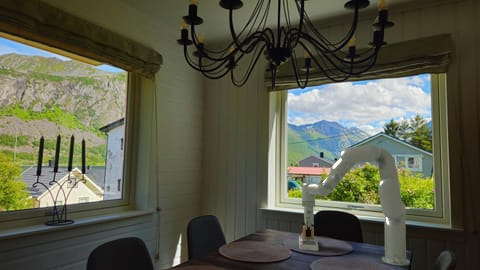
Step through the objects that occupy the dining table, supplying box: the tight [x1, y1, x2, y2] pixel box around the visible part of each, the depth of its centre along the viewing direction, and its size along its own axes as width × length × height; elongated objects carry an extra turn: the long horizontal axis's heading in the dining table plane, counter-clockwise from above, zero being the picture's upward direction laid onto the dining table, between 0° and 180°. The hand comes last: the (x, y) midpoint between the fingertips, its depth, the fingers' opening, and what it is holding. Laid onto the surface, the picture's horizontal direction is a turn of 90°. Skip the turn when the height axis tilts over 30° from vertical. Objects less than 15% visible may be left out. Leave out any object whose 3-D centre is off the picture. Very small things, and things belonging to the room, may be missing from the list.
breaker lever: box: [302, 225, 315, 241], centre depth 182 cm, size 2×6×8 cm, turn 81°
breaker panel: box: [298, 232, 319, 252], centre depth 184 cm, size 20×10×5 cm, turn 171°
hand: (308, 235), depth 182 cm, fingers closed on breaker lever, 2 cm apart
